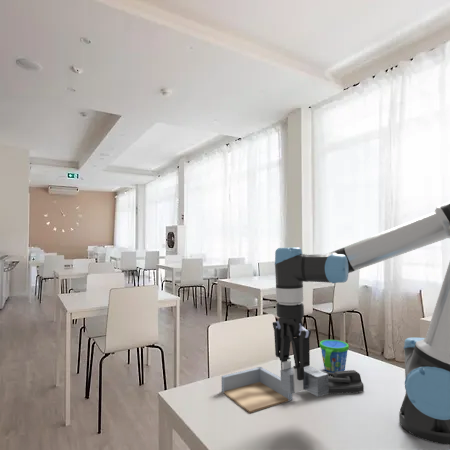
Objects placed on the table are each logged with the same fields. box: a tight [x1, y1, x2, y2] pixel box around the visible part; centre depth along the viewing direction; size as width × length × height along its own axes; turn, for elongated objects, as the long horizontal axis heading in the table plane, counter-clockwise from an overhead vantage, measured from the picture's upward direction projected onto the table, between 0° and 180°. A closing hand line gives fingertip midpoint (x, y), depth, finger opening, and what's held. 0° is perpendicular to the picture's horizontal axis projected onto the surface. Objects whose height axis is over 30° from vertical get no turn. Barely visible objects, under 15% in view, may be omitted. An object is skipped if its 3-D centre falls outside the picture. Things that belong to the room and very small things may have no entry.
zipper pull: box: [323, 369, 364, 395], centre depth 113 cm, size 9×7×25 cm
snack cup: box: [319, 339, 350, 373], centre depth 130 cm, size 16×10×10 cm
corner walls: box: [221, 366, 293, 402], centre depth 109 cm, size 16×16×5 cm
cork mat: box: [223, 382, 289, 414], centre depth 108 cm, size 15×14×1 cm
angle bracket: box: [280, 365, 329, 398], centre depth 92 cm, size 9×9×5 cm
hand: (292, 387), depth 94 cm, fingers closed on angle bracket, 4 cm apart
